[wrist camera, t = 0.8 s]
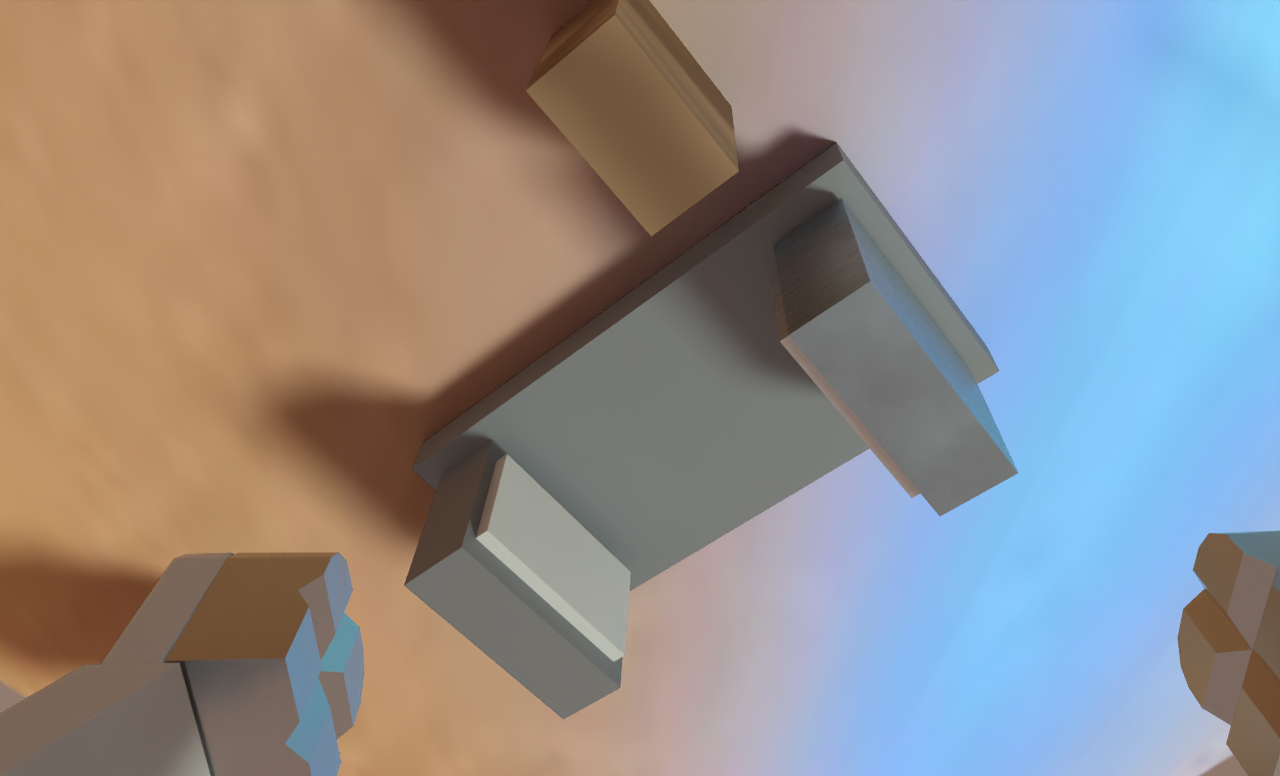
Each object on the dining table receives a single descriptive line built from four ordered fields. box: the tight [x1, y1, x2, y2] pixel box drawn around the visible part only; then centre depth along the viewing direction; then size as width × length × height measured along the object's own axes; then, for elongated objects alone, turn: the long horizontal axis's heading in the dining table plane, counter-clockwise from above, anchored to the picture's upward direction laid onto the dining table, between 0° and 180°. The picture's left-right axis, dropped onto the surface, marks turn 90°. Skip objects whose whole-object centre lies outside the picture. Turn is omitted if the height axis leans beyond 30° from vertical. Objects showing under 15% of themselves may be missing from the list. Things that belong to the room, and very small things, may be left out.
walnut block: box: [526, 0, 739, 236], centre depth 35 cm, size 4×6×7 cm, turn 39°
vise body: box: [404, 142, 999, 719], centre depth 41 cm, size 22×11×9 cm, turn 129°
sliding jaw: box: [770, 198, 1018, 516], centre depth 37 cm, size 4×9×7 cm, turn 39°
